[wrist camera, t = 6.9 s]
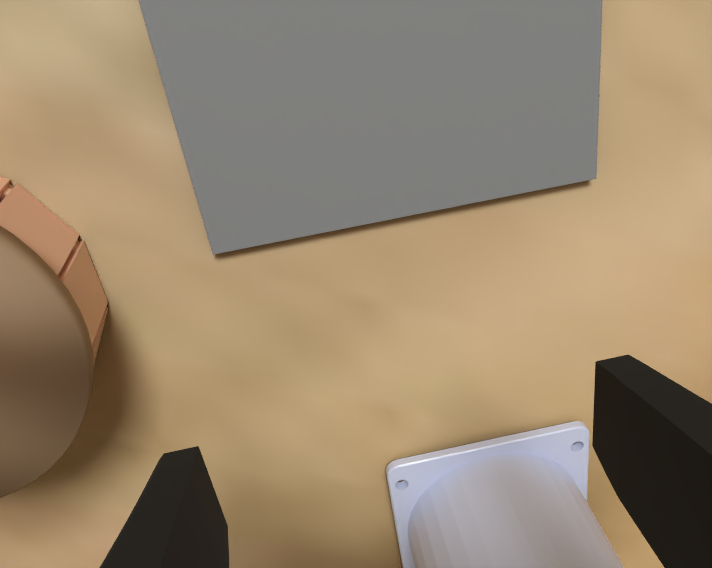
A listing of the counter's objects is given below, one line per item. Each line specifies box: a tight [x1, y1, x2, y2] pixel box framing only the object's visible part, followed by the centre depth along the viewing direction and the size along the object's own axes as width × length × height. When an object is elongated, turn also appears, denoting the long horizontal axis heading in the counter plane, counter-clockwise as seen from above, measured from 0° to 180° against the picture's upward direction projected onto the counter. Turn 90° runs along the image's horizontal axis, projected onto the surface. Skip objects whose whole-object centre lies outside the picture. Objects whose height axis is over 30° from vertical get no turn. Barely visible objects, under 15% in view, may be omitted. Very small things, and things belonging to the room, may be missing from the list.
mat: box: [139, 0, 602, 255], centre depth 17 cm, size 12×12×1 cm
